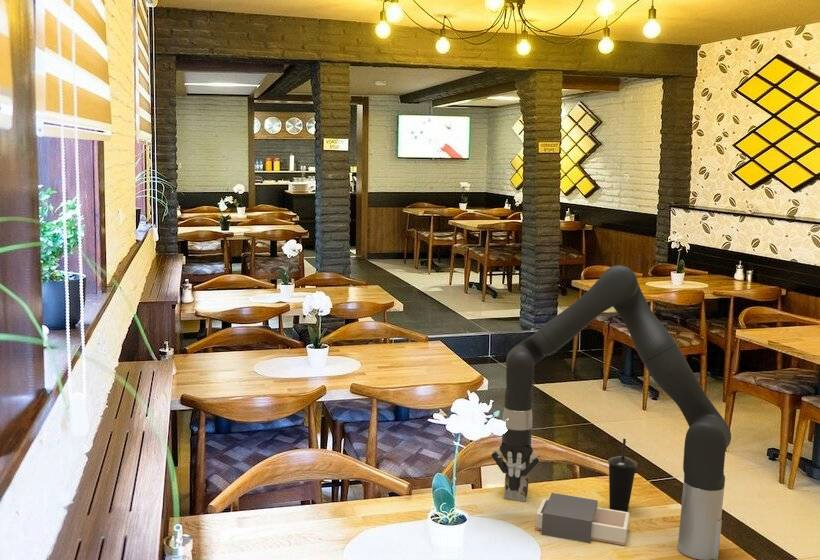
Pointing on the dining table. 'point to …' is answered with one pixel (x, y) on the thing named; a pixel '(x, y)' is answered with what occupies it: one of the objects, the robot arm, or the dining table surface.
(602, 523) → the sliding drawer box
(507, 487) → the coffee box
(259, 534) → the dining table surface
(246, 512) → the dining table surface
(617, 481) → the drinking cup
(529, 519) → the dining table surface
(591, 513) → the sleeve
